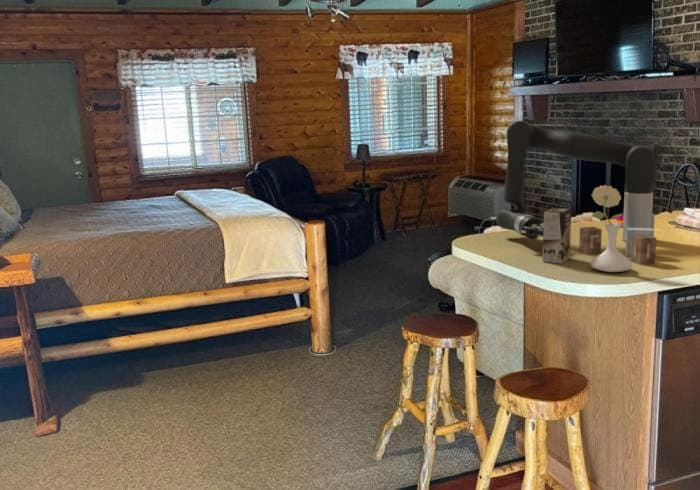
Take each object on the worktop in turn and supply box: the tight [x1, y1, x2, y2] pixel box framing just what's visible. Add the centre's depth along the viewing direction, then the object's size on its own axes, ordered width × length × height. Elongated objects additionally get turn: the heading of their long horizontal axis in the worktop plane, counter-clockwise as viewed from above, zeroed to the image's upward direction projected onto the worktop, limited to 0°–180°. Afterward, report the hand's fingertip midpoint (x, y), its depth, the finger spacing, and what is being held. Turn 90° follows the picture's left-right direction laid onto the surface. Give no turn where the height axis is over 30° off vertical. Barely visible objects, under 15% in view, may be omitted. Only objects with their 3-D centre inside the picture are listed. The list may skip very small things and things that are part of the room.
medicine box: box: [625, 228, 655, 257], centre depth 214 cm, size 8×4×9 cm, turn 71°
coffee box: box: [542, 207, 572, 264], centre depth 211 cm, size 9×6×16 cm
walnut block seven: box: [578, 226, 603, 255], centre depth 221 cm, size 5×5×8 cm
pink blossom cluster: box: [603, 214, 624, 228], centre depth 267 cm, size 8×8×4 cm
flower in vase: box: [590, 184, 633, 273], centre depth 195 cm, size 13×11×25 cm
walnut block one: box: [630, 235, 657, 266], centre depth 204 cm, size 5×5×8 cm
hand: (549, 234), depth 217 cm, fingers closed
